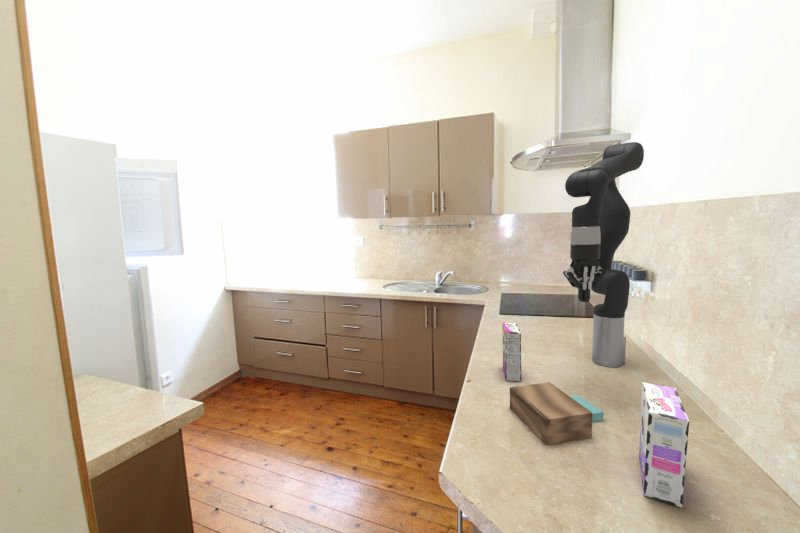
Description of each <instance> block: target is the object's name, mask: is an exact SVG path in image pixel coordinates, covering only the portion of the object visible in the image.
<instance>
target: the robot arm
mask: <svg viewBox="0 0 800 533" xmlns="http://www.w3.org/2000/svg"><path fill="white" fill-rule="evenodd" d="M644 152H645V150H644V146H643V145H642V144H641V142H637V141H636V142H635V141H630V142H625V143H623V142H622V143H618V144H612V145H611V144H610V145H607V147H605V149H604V150H603V153H602V158H601V160H599V161H597V162H595V163H594V164H593V165H591V166H589V167H586V168H583V169H579V170H576V171H574V172H572V173H571V174H570V175H569V176H568V177H567V179H566V181H565V184H564V188H565V189H564V190H565V192H566V194H568V196H569V197H571V198H585V197H589V199H588V201H587V202H586V203H584V204H581V205H577V206H575V207H573V209H572V211H571V232H570V254H569V255H570V256H569V257H570V260H571V263H570V265H569V266H570V267H569V268H568V269H567V270H564V271H562V274H563V276H564V278H566V280H567V281H568V283H569V284H570V285H571V287H572V288H575V289H577V290H578V292H577V295H578V297H577V298H578V300H579V302H581V303H589V302H590V299H591V292H592V291H593V292H594V293H595V294H599V295H603V296H604V301H603V303H598V304H596V305H594V306H593V321H592V325H593V327H592V348H591V349H592V353H591V354H592V356H591V360H592V362H593V363H595V364H597V365H600V366H604V367H609V368H618V367H622V366H623V365H625V364H626V351H627V350H626V348H627V347H626V346H627V338H626V337H625V316H626V315H625V314H626V311H627V309H628V306H629V305H628V304H629V298H630V297H629V295H630V286H631V284H630V282H631V281H630V278H629V275H628V274H627V273H626V272H625V271H622V270H618V269H613V268H612V266H613V260H614V255H615V253H616V251H617V250H618V248H619V247H620V245H621V244H622V243H623V241H624V240H625V238H626V236H627V235H628V233H629V229H630V222H631V209H630V207H629V205H628V203H627V202H626V201H625V199H624V196H622V193H620V191H619V189H618V187H617V184H616V179H617V178H619V177H620V176H623V175H625V174H627V173H630V172H632V171H637V170H638V169H639V168H641V166H642V164H643V162H644V158H645V156H644V155H645V153H644Z"/></svg>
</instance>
